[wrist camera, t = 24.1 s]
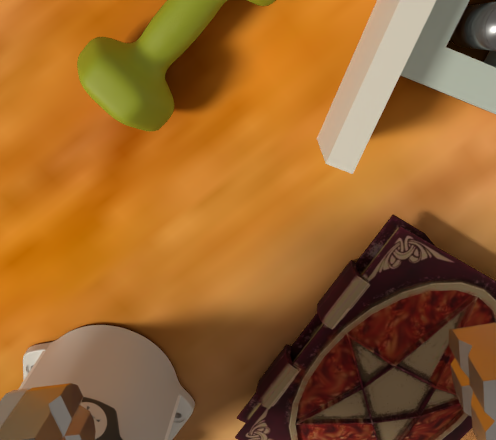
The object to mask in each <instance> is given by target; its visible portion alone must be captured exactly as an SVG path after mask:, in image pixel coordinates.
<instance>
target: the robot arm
mask: <svg viewBox="0 0 496 440" xmlns="http://www.w3.org/2000/svg"><path fill="white" fill-rule="evenodd" d="M448 337H449V347H450V349H451V351H452V353H453V355H454V356H455V359H454V360H453V361H452V363H451V373H452V380H453V384H454V388H455V392H456V395H457V398H458V400H459V403H460V405H461V407H462V409H463V411H464V412H465V413H466V414H468V415H469V416H471V417H472V427H473V432H474V434H475V436H476V438H477V440H496V323H489V324H483V325H476V326H469V327H462V328H455V329H449V335H448ZM23 375H24V381H23V383H22V384H21V386H20V387H19V389H18V390H13V391H11V392H9V393H7V394H6V395H5V396H4V397H3V398H2V400H1V401H0V440H173V438H174V437H175V436H176V434H177V433H178V432H179V430H180V429H181V428H182V427H183V425H184V424H185V423H186V421H187V420H188V419H189V417H190V416H191V415H192V413H193V410H194V407H195V402H194V400H193V398H192V397H191V396H190V395H189V393H188V392H187V391H186V390H185V389H184V388H183V387H182V386H181V385H180V383H179V381H178V379H177V376H176V373H175V370H174V368H173V366H172V364H171V362H170V361H169V359H168V358H167V356H166V355H165V354H164V353H163V352H162V350H161V349H160V348H158V347H157V346H156V345H155V344H154V343H152V342H151V341H150V340H148V339H147V338H145V337H143V336H142V335H140V334H138V333H135V332H133V331H130V330H128V329H125V328H121V327H116V326H110V325H91V326H85V327H81V328H77V329H75V330H72V331H70V332H68V333H66V334H65V335H63V336H62V337H60V338H59V339H57V340H55V341H53V342H50V343H44V344H38V345H34V346H31V347H29V348H28V350H27V351H26V353H25V355H24V357H23ZM179 413H180V414H179Z"/></svg>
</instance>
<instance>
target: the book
mask: <svg viewBox="0 0 496 440" xmlns="http://www.w3.org/2000/svg"><path fill="white" fill-rule="evenodd" d="M489 323H496V281H494V280H493V279H491V278H489V277H487V276H486V275H484V274H482V273H480V272H479V271H477V270H475V269H474V268H472V267H470V266H468V265H467V264H465V263H463V262H461V261H460V260H458V259H456V258H455V257H453V256H451V255H449V254H448V253H446V252H444V251H442V250H441V249H439V248H437V247H435V245H434V244H433V243H432V242H431V241H430V239H429V238H428V237H427V236H426V235H425V234H424V233H423V232H421V231H419V230H418V229H416V228H414V227H413V226H411V225H409V224H407V223H406V222H404V221H402V220H401V219H399V218H397V217H396V216H394V215H392V217H391V218H390V219H389V220H388V222H387V223H386V224H385V226H384V227H383V228H382V230H381V231H380V232H379V233H378V235H377V236H376V237H375V239H374V240H373V241H372V243H371V244H370V245H369V246H368V248H367V249H366V250H365V252H364V253H363V254H362V256H361V257H360V258H359V259H358V261H357V262H356V263H355V262H353V261H352V260H351V261H350V262H349V263H348V265H347V266H346V267H345V269H344V270H343V271H342V273H341V274H340V275H339V277H338V278H337V279H336V280H335V282H334V283H333V284H332V286H331V287H330V288H329V290H328V291H327V292H326V294H325V295H324V296H323V298H322V299H321V300H320V301H319V303H318V306H317V314H316V315H315V317H314V318H313V319H312V320H311V322H310V323H309V324H308V326H307V327H306V328H305V330H304V331H303V332H302V333H301V335H300V336H299V337H298V339H297V340H296V341H295V343H294V344H293V345H292V346H289V345H286V346H285V347H284V349H283V350H282V351H281V353H280V354H279V355H278V357H277V358H276V359H275V360H274V362H273V363H272V364H271V366H270V367H269V368H268V370H267V371H266V372H265V374H264V375H263V376H262V378H261V379H260V380H259V383H258V386H257V390H256V391H257V392H256V393H255V395H254V396H253V397H252V398H251V400H250V401H249V402H248V404H247V405H246V406H245V408H244V409H243V410H242V411H241V413H240V414H239V415H238V417H237V419H239V420H241V421H243V422H245V423H246V424H245V425H244V426H243V428H242V429H241V430H240V431H239V433H238V434H237V435H236V436H235V438H236V439H238V440H460V439H461V438H462V437H463V436H464V435H465V434H466V433H467V432H468V431H469V430H470V429H472V428H473V427H472V417H471V416H469V415H468V414H466V413H465V412H464V411H463V409H462V407H461V405H460V403H459V400H458V398H457V395H456V392H455V388H454V384H453V380H452V373H451V363H452V361H453V360H454V359H455V356H454V355H453V353H452V351H451V349H450V347H449V337H448V335H449V329H455V328H462V327H469V326H476V325H483V324H489Z"/></svg>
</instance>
